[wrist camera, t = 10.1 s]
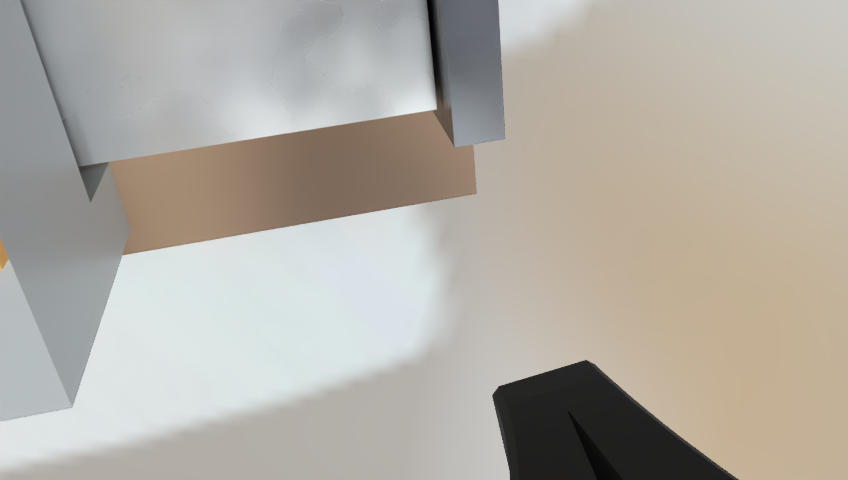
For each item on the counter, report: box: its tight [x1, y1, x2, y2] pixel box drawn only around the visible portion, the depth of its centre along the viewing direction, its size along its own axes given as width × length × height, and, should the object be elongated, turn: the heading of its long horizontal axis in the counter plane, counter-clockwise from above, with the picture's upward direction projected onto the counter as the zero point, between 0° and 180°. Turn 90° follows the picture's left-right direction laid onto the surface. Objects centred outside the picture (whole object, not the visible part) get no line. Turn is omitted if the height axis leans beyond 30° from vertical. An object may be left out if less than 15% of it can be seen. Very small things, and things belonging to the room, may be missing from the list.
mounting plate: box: [78, 110, 477, 255], centre depth 15 cm, size 18×9×1 cm, turn 96°
